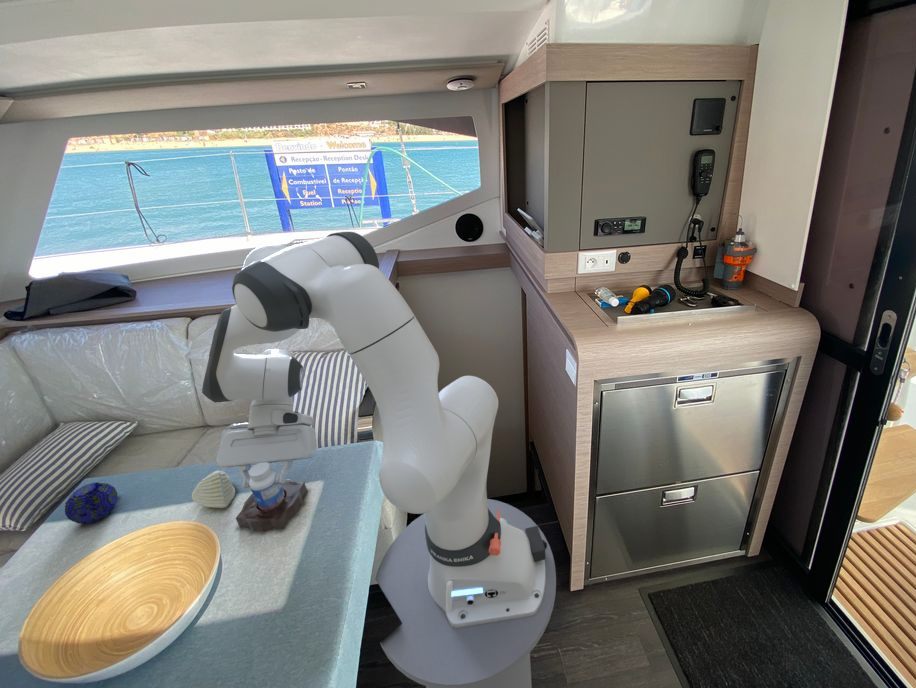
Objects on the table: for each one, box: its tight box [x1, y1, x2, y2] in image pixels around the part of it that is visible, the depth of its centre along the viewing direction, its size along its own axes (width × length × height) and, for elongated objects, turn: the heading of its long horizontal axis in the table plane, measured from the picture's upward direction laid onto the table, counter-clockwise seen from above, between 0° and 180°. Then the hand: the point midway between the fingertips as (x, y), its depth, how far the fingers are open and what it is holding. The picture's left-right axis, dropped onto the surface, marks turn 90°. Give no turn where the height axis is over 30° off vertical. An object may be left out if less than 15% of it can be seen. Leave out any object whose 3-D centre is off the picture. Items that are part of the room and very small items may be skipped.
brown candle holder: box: [235, 478, 308, 532], centre depth 93 cm, size 11×11×3 cm
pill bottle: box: [248, 462, 285, 511], centre depth 91 cm, size 6×5×10 cm
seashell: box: [191, 469, 236, 509], centre depth 97 cm, size 8×8×8 cm
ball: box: [64, 482, 119, 524], centre depth 94 cm, size 8×8×8 cm
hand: (264, 485), depth 90 cm, fingers closed on pill bottle, 5 cm apart
